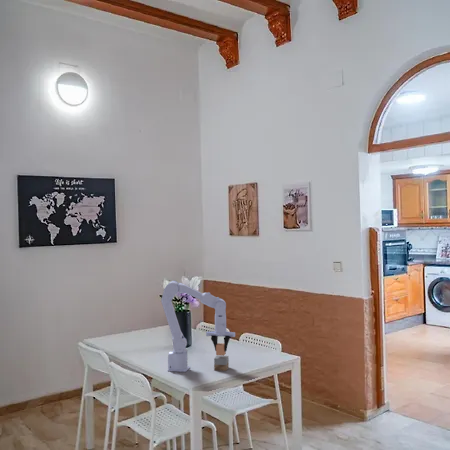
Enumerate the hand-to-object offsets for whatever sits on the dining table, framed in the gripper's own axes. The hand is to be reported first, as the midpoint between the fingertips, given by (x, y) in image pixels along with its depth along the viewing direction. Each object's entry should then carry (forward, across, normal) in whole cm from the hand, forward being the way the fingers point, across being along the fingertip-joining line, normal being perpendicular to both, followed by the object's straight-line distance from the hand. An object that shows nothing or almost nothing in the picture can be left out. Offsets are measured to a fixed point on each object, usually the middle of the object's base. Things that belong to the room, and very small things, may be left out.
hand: (221, 350), depth 243 cm
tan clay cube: (+2, 0, 0) cm, 2 cm away
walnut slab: (+9, 0, 0) cm, 9 cm away
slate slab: (+6, 0, 0) cm, 6 cm away
